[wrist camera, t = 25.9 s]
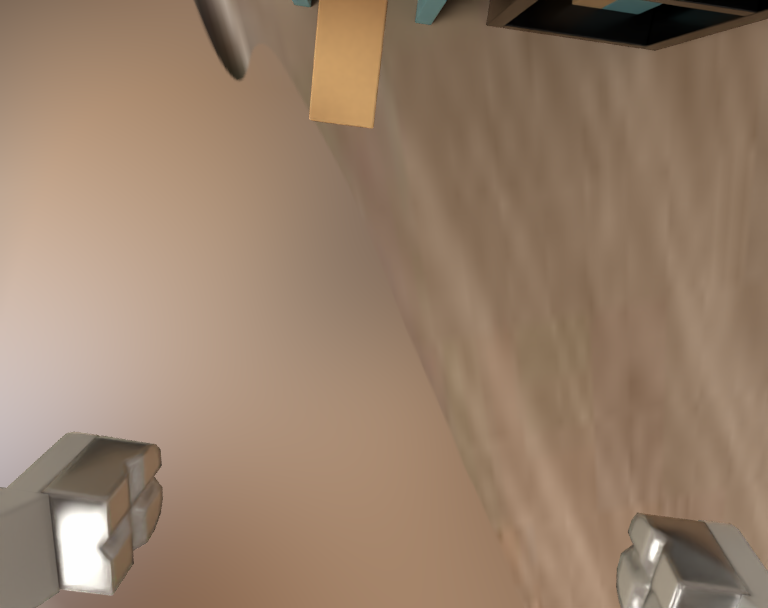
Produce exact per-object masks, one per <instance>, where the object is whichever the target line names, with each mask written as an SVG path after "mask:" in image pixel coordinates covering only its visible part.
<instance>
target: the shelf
mask: <svg viewBox="0 0 768 608" xmlns="http://www.w3.org/2000/svg"><path fill="white" fill-rule="evenodd" d="M765 19H768V0H490V4H489V11H488V17H487V23H486V25H487V26H493V27H500V28H502V27H503V28H507V29H513V30H520V31H527V32H533V33H540V34H547V35H554V36H560V37H567V38H574V39H581V40H587V41H594V42H601V43H608V44H614V45H621V46H628V47H635V48H642V49H648V50H659V49H662V48H666V47H669V46H673V45H676V44H680V43H683V42H687V41H690V40H694V39H697V38H701V37H705V36H708V35H712V34H715V33H719V32H722V31H726V30H729V29H733V28H736V27H740V26H744V25H747V24H751V23H754V22H758V21H761V20H765Z"/></svg>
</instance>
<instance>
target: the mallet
mask: <svg viewBox="0 0 768 608" xmlns="http://www.w3.org/2000/svg"><path fill="white" fill-rule="evenodd" d="M387 4H388V0H319V7H318V19H317V30H316V42H315V54H314V66H313V78H312V89H311V101H310V113H309V119H310V120H312V121H317V122H325V123H333V124H340V125H348V126H356V127H364V128H373V127H374V119H375V110H376V101H377V92H378V83H379V75H380V66H381V57H382V48H383V39H384V31H385V22H386V13H387Z"/></svg>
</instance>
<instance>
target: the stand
mask: <svg viewBox="0 0 768 608" xmlns="http://www.w3.org/2000/svg"><path fill="white" fill-rule="evenodd" d="M292 1H293V3H294V5H299V6H306V7H311V0H292ZM446 1H447V0H418V4H417V12H416V19H415V22H416V23H421V24H428V25H431V24H432V22H433V21H434V19H435V18H436V16H437V15H438V13H439V12H440V10H441V9H442V7H443V6H444V4H445V3H446Z"/></svg>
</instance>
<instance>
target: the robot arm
mask: <svg viewBox="0 0 768 608" xmlns="http://www.w3.org/2000/svg"><path fill="white" fill-rule="evenodd" d="M161 465H162V464H161V451H160V448H159V447H158V446H157V445H156V444H150V443H143V442H137V441H132V440H125V439H119V438H113V437H107V436H99V435H94V434H87V433H80V432H71V433H67V434H65V435H64V436H63V437H62V438H61V439H60V440H58V441H57V442H56V443H55V444H54V445H53V446H52V447H51V448H50V449H49V450H47V452H45V453H44V454H43V455H42V456H41V457H40V458H39V459H38V460H37V461H35V462H34V463H33V464H32V465H31V466H30V467H29V468H28V469H27V470H26V471H25V472H24V473H22V474H21V475H20V476H19V477H18V478H17V479H16V480H15V481H14V482H13V483H11V484H10V485H9V486H8V487H7V488H2V487H0V608H36V607H38V606H39V605H41V604H42V603H44V602H45V601H47V600H48V599H50V598H51V597H53V596H54V595H56V594H57V593H59V589H64V590H72V591H81V592H89V593H97V594H105V595H113V594H114V593H115V591H116V590H117V588H118V587H119V585H120V584H121V582H122V580H123V579H124V577H125V576H126V574H127V573H128V571H129V570H130V568H131V567H132V565H133V564H134V561H133V550H135V549H137V548H139V547H140V546H142V545H144V544H146V543H147V542H148V540H149V538H150V537H151V535H152V533H153V532H154V530H155V527H156V524H157V522H158V519H159V516H160V513H161V507H162V500H163V497H162V486H161V485H160V484H159V482H158V481H157V480H156V478H155V477H154V476H155V474H156V473H157V471H158V470H159V469H160V467H161ZM628 533H629V536H630V538H631V541H632V543H633V545H632V546H630V547H629V548H628V549H626V550H625V551H624V552H622V553H621V556H620V560H619V564H618V567H617V584H616V587H617V593H618V599H619V603H620V606H621V608H768V571H767V570H766V568H765V567H764V565H763V564H762V562H761V561H760V560H759V558H758V557H757V555H756V554H755V552H754V551H753V549H752V548H751V547H750V545H749V544H748V542H747V541H746V539H745V538H744V537H743V535H742V534H741V532H740V531H739V529H738V528H736V527H735V526H733V525H732V524H730V523H722V522H713V521H704V520H698V521H695V520H688V519H680V518H673V517H665V516H658V515H651V514H643V513H637V514H636V515H635V516H634V518H633V519H632V521H631V524H630V527H629V530H628Z"/></svg>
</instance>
